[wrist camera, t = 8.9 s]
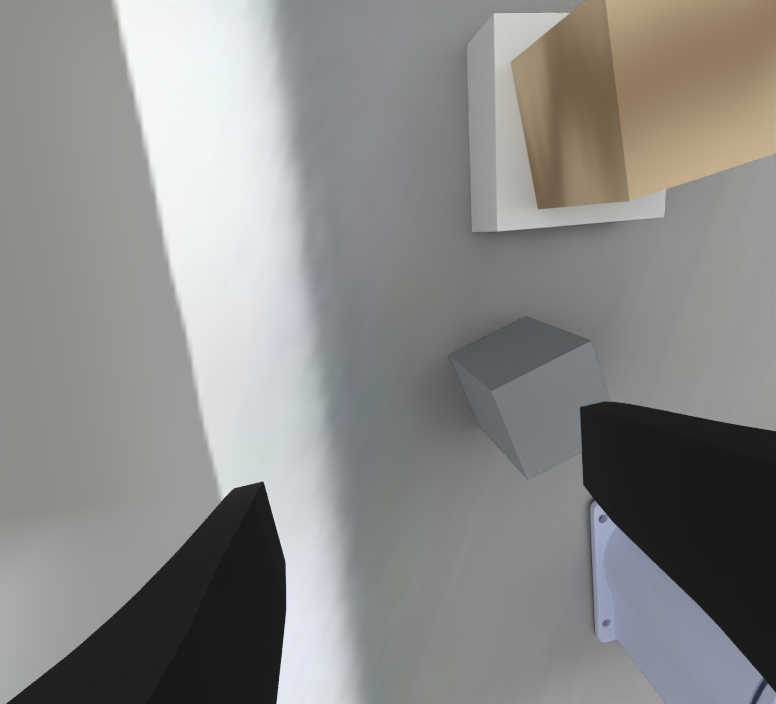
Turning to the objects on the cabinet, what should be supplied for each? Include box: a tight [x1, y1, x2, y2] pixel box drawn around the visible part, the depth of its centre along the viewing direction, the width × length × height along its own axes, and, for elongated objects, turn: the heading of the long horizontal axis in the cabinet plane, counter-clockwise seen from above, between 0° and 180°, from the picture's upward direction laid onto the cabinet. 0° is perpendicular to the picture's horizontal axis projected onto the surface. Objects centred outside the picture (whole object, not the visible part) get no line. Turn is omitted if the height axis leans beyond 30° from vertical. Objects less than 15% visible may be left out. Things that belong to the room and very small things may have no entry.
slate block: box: [449, 317, 610, 480], centre depth 19 cm, size 4×4×5 cm
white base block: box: [467, 13, 666, 232], centre depth 18 cm, size 7×7×3 cm
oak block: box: [511, 0, 776, 209], centre depth 14 cm, size 5×5×5 cm
